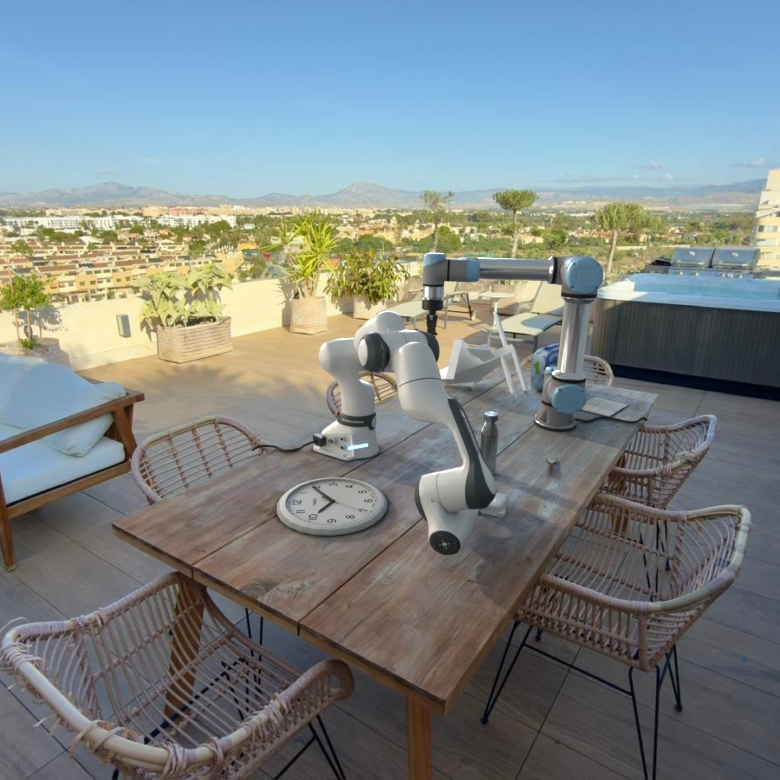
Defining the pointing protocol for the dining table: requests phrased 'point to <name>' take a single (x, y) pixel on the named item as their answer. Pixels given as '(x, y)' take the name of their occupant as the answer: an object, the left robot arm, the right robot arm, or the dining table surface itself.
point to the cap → (491, 416)
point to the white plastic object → (482, 362)
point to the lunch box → (543, 364)
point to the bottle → (489, 444)
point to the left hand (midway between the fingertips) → (473, 485)
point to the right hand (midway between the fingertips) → (430, 357)
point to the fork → (551, 462)
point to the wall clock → (331, 506)
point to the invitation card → (603, 406)
